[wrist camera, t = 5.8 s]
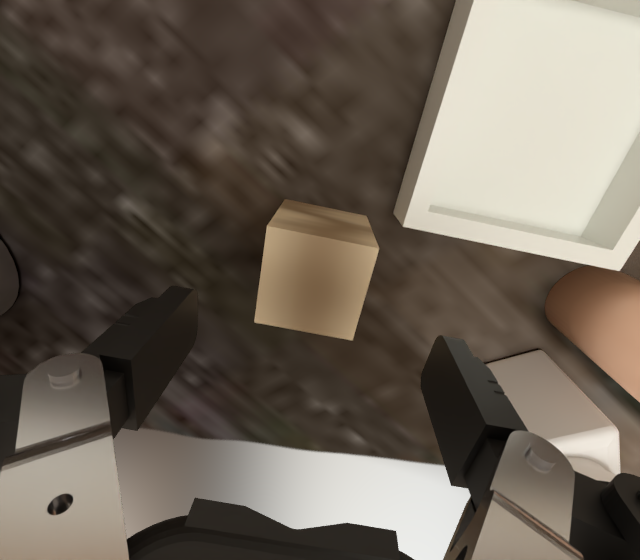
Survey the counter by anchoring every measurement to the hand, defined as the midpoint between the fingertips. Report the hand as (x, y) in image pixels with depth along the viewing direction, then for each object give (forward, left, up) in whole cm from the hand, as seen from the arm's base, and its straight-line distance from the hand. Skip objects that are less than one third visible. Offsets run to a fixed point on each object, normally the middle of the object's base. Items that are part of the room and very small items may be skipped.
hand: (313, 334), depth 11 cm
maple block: (0, -1, -11) cm, 11 cm away
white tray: (+10, +8, -11) cm, 17 cm away
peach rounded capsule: (+18, -1, -11) cm, 21 cm away
